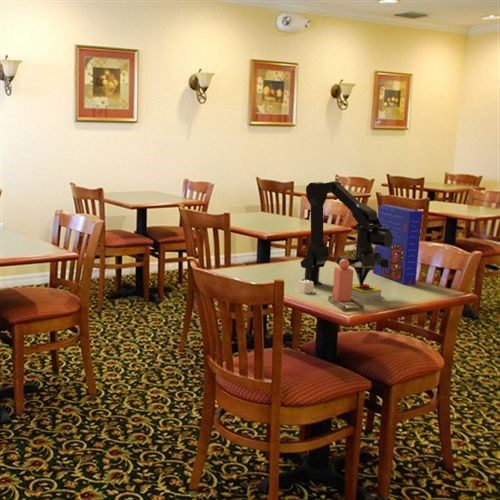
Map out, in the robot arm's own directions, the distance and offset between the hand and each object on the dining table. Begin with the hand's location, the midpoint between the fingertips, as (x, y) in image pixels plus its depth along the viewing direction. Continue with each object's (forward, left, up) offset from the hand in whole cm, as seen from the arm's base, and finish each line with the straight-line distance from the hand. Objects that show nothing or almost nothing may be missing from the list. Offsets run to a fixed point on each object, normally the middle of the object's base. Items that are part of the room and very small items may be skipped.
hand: (361, 284), depth 248 cm
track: (+16, -11, -4) cm, 20 cm away
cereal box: (-29, +24, -4) cm, 38 cm away
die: (-4, -20, -4) cm, 21 cm away
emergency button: (-1, +1, -5) cm, 5 cm away
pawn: (+12, -11, -3) cm, 17 cm away
